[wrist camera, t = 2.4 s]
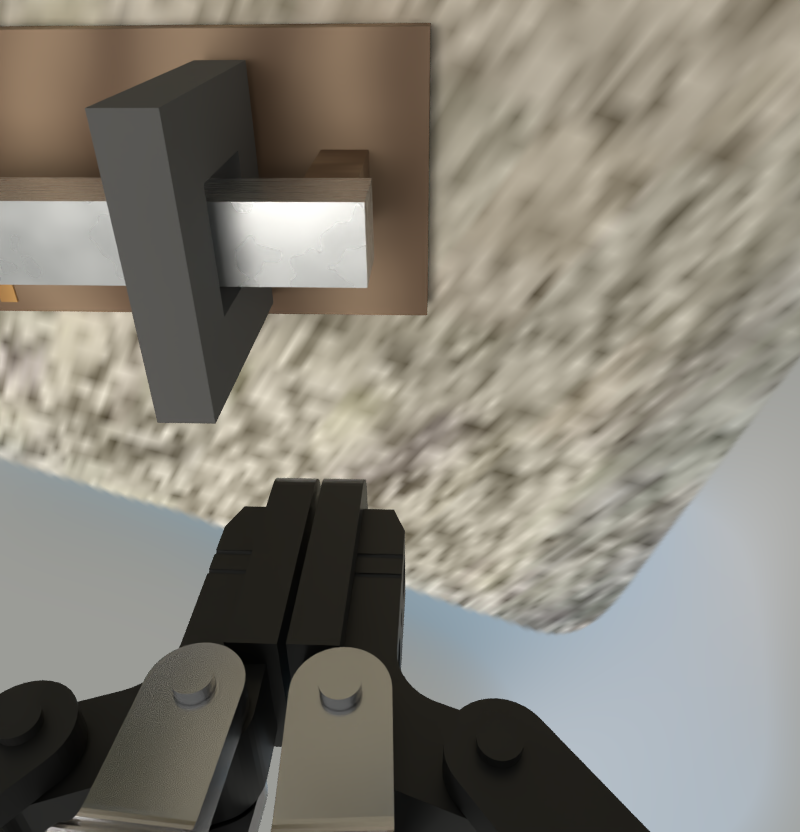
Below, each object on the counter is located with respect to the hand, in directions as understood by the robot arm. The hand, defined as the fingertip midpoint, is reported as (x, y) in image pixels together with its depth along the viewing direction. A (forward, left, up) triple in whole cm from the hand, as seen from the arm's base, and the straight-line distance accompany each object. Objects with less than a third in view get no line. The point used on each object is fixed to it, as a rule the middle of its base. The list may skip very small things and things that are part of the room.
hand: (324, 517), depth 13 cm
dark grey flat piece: (+6, 0, -20) cm, 21 cm away
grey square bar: (+12, 0, -17) cm, 21 cm away
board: (+11, 0, -23) cm, 26 cm away
